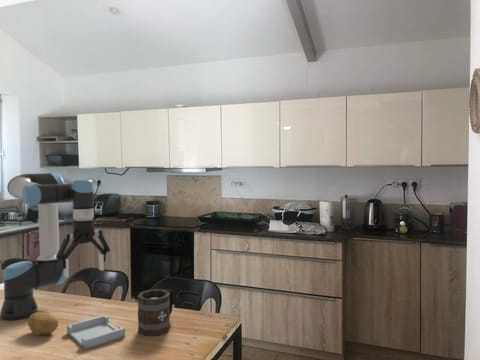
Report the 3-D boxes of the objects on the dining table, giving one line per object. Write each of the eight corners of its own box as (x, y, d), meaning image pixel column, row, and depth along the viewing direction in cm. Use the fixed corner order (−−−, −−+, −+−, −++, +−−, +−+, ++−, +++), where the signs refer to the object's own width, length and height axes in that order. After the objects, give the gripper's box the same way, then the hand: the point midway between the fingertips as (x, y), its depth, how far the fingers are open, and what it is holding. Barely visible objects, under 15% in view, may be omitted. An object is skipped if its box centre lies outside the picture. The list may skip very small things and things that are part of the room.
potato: (44, 342, 153) (43, 321, 152) (21, 334, 159) (21, 315, 159) (65, 332, 161) (65, 313, 161) (43, 325, 168) (43, 307, 167)
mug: (158, 339, 155) (157, 301, 154) (130, 333, 160) (130, 297, 160) (184, 320, 173) (184, 287, 172) (158, 316, 178) (158, 283, 178)
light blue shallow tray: (67, 333, 160) (67, 325, 160) (105, 322, 171) (105, 314, 171) (85, 349, 146) (84, 340, 146) (125, 336, 157) (125, 328, 157)
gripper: (52, 223, 141) (54, 282, 142) (118, 217, 158) (118, 269, 159) (46, 221, 146) (47, 277, 147) (110, 215, 163) (110, 265, 164)
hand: (84, 273), depth 153 cm, fingers open, 13 cm apart
